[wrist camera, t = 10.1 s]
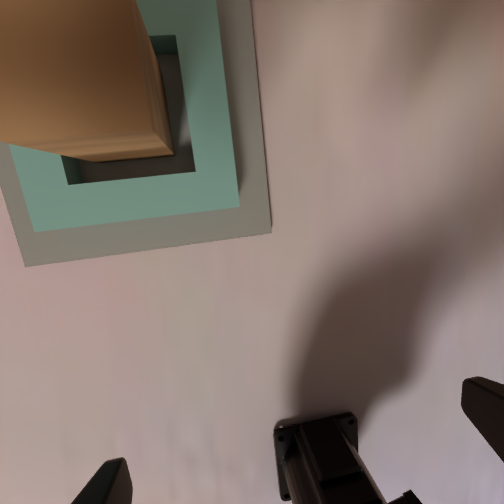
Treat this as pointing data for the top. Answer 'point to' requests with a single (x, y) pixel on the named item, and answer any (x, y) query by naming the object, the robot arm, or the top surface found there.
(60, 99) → the walnut peg
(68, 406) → the top surface
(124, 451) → the top surface
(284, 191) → the top surface
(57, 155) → the socket block
